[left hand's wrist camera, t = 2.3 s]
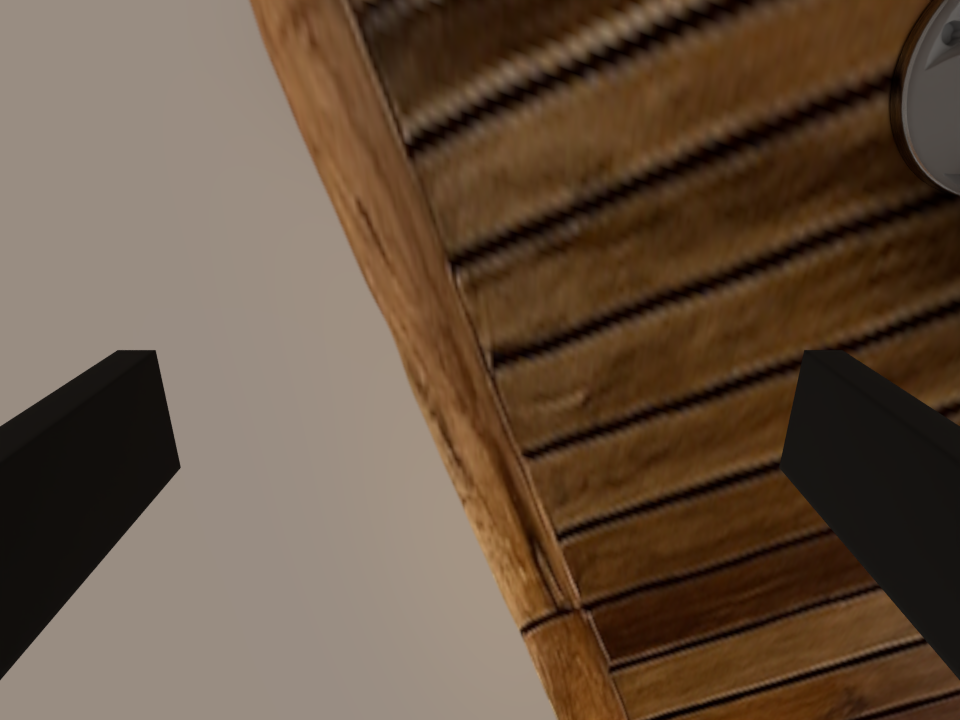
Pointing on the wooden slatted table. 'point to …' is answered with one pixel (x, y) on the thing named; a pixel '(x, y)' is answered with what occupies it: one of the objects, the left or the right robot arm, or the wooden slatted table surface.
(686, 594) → the wooden slatted table surface
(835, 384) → the left robot arm
